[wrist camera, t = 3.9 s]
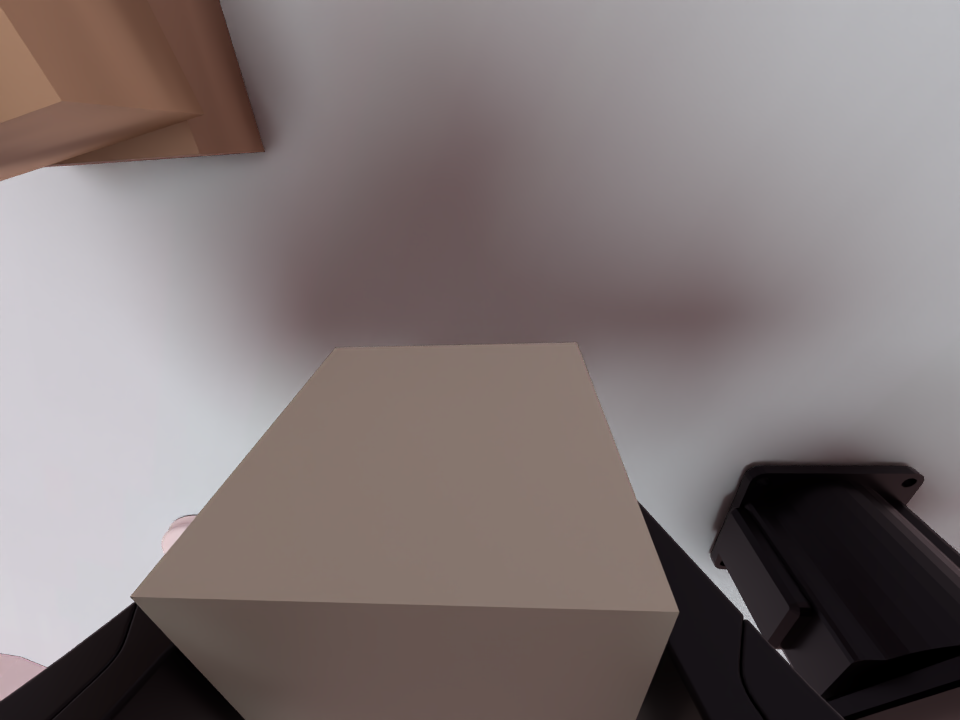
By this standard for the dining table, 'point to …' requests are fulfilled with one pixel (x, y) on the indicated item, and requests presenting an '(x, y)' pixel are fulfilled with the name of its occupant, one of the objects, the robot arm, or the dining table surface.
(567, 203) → the dining table surface
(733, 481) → the dining table surface
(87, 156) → the tower base
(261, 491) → the cube
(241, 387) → the dining table surface
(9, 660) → the mug
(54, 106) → the tower top
